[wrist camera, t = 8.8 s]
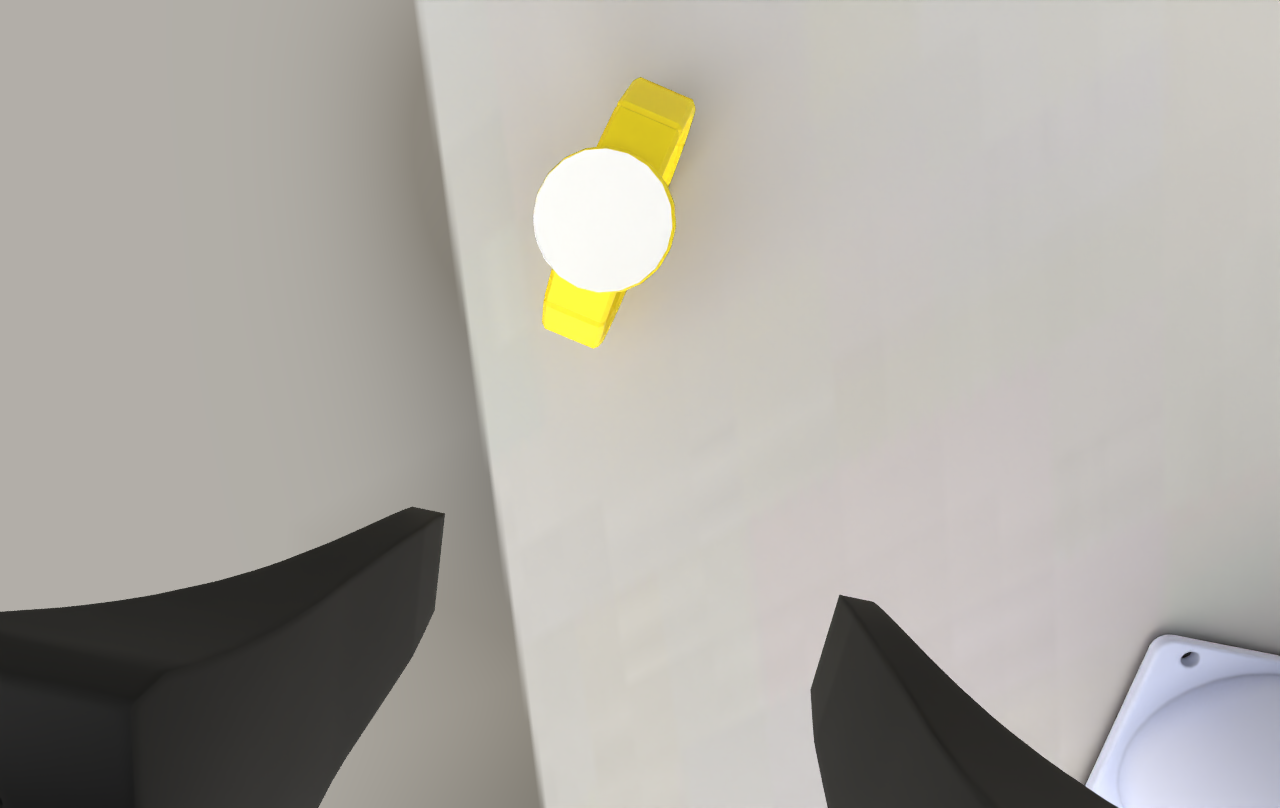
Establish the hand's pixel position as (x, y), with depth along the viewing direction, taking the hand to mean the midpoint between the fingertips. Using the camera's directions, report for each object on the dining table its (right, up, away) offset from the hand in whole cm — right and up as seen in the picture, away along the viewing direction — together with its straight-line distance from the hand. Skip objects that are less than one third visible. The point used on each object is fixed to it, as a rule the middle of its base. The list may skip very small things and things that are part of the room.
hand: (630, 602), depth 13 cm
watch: (0, +9, +7) cm, 11 cm away
